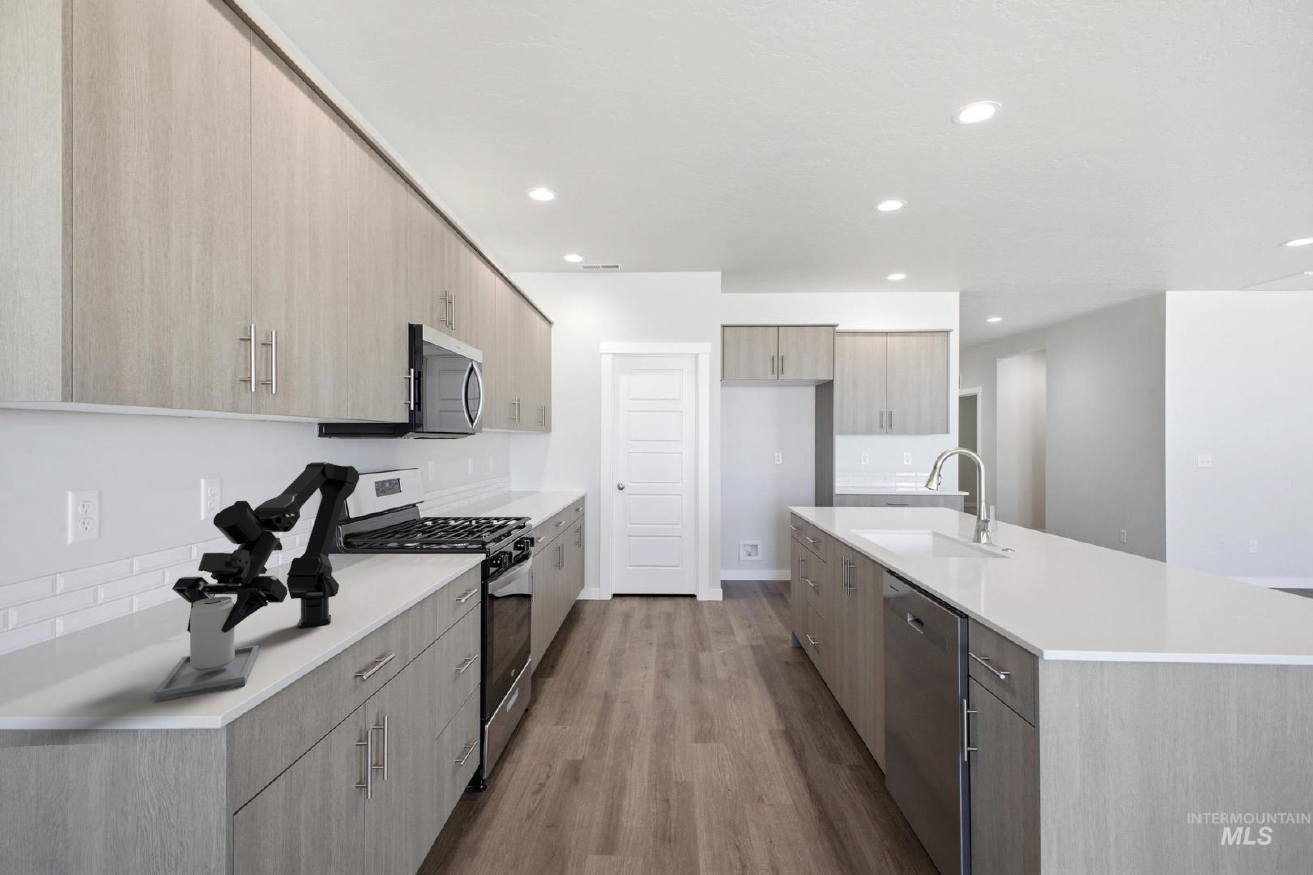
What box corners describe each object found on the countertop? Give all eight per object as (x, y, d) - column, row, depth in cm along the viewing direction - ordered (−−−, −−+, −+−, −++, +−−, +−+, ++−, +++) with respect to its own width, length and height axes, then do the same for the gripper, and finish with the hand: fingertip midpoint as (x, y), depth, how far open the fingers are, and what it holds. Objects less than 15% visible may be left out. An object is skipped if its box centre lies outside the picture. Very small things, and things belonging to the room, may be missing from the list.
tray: (182, 665, 108) (182, 656, 108) (258, 652, 114) (258, 645, 114) (154, 702, 92) (154, 692, 92) (244, 685, 98) (244, 676, 98)
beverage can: (190, 676, 99) (189, 607, 99) (190, 664, 103) (190, 599, 104) (235, 666, 103) (235, 600, 103) (233, 656, 108) (233, 593, 108)
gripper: (179, 535, 107) (125, 610, 96) (276, 533, 107) (232, 609, 96) (213, 566, 115) (166, 640, 104) (303, 565, 115) (266, 639, 104)
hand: (206, 631), depth 102 cm, fingers closed on beverage can, 6 cm apart
